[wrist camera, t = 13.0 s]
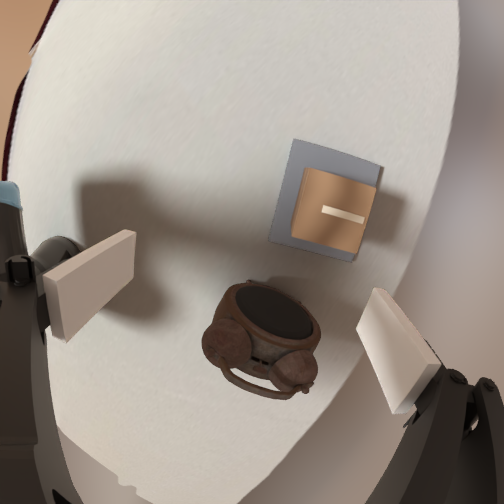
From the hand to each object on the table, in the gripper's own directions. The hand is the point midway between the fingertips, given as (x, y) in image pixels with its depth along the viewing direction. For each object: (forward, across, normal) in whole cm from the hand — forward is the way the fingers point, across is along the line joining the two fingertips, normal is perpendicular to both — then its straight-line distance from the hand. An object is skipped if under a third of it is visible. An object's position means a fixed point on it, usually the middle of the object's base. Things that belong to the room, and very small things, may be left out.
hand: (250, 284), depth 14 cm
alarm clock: (+27, +4, -14) cm, 30 cm away
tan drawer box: (+25, +8, +3) cm, 27 cm away
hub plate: (+26, +8, +3) cm, 28 cm away
